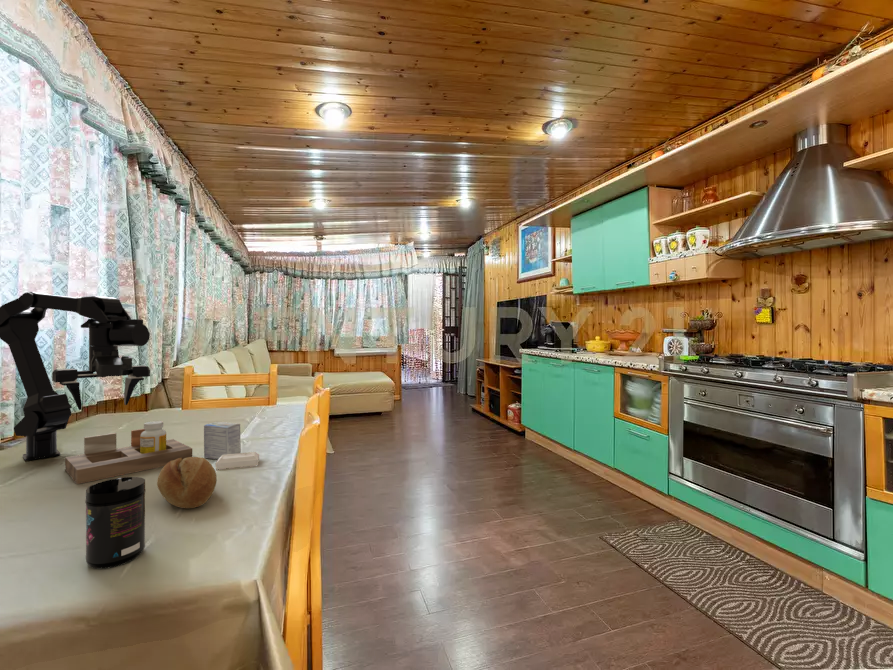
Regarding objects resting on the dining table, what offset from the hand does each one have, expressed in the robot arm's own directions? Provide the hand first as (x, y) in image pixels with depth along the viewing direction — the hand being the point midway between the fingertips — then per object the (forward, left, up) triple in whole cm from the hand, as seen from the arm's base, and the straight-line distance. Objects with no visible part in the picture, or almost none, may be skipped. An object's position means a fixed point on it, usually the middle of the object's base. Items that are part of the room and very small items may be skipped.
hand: (103, 407), depth 107 cm
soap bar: (+31, +20, -14) cm, 39 cm away
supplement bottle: (+12, +8, -13) cm, 19 cm away
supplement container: (+61, -10, -13) cm, 63 cm away
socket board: (+12, +3, -13) cm, 18 cm away
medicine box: (+22, +20, -13) cm, 33 cm away
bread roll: (+46, +4, -13) cm, 48 cm away
